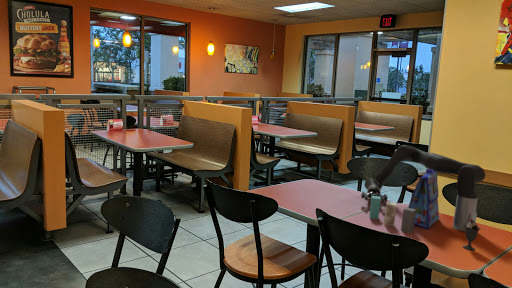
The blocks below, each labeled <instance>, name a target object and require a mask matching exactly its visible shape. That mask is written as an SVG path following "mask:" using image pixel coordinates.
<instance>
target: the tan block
mask: <svg viewBox="0 0 512 288" xmlns="http://www.w3.org/2000/svg"><path fill="white" fill-rule="evenodd" d="M385 202H386V203H385V212H384V219H383V224H384V226H388V227H394V226H395V219H396V211H397V204H396V202H390V201H385Z"/></svg>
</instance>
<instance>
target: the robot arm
mask: <svg viewBox="0 0 512 288" xmlns="http://www.w3.org/2000/svg"><path fill="white" fill-rule="evenodd" d="M402 161H403V162H409V163H410V162H411V163H416V164H420V165H422V166H423V167H425V168H426V169H432V171H436V172H437V173H439V174H447V175H452V176H453V175H454V176H455V175H456V176H457V179H456V180H457V181H456V191H457V195H456V201H455V207H454V208H455V209H454V215H453V223H452V228H453V229H454V230H458V231H461V232H465V233H466V229H465V227H464V225H467V223H468V222H469V221H470V220H471V217H472V220H473V221H474V222H476V221H477V216H478V213H477V205H478V198H479V192H478V191H477V190H475V184H477V183H480V182H482V181H484V179H485V178H486V172H485V170H484V169H483V168H482V167H481V166H480V165H478V164H472V163H466V162H461V161H459V160H456V159H454V158H450V157H447V156H444V155H441V154H438V153H434V152H426V151H423V150H421V149H418V148H416V147H415V146H411V145H405V144H402V145H399V146H398V147H397V148H396V150H395V151H394V153H393V154H392V156H391V157H390V158H389V160H388V161H387V162H386V163H385V165H383V167H382V168H381V169H380V170H379V171H378V172H377V173H376V174H375V177H374V178H375V179H376V180H375V179H374V178H371V177H369V178H367V179H366V180H365V181H364V188H365V189H366V190H367V191H361V199H364V200H365V201H368V200H371V197H372V196H378V197H380V198H381V201H380V203H382V204H383V203H384V202H388V195H387V194H385V193H384V195H383V194H382V193H381V189H382V188H383V186H384V184H385V183H386V182H387V181H388V180H389V179H390V178H391V177H392V176H393V174H394V172H395V169H396V167H397V166H398V164H400V163H401V162H402ZM470 215H471V216H470ZM476 223H477V222H476Z"/></svg>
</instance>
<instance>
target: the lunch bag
mask: <svg viewBox="0 0 512 288" xmlns="http://www.w3.org/2000/svg"><path fill="white" fill-rule="evenodd" d="M438 173H439V172H436V171H433V170H432V169H428V168H426V169H425V173H424V174H423V175H422V176H421V177H420V178H419V180H418V181H417V183H416V185H415V188H414V191H413V193H412V196H411V199H410V201H409V203H408V208H412V209H416V214H415V221H414V225H416V226H419V227H422V228H423V229H425V230H428V229H430V228H431V227H432V226H433V225H434V224H435V222H437V221H438V220H439V219H440V212H439V200H438V199H439V185H438V184H439V183H438Z"/></svg>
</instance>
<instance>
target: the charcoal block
mask: <svg viewBox="0 0 512 288" xmlns="http://www.w3.org/2000/svg"><path fill="white" fill-rule="evenodd" d="M415 214H416V209H412V208H408V207H405V208H403V212H402V220H401V227H400V232H404V233H408V234H411V233H413V231H414V228H415V224H414V221H415Z"/></svg>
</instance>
